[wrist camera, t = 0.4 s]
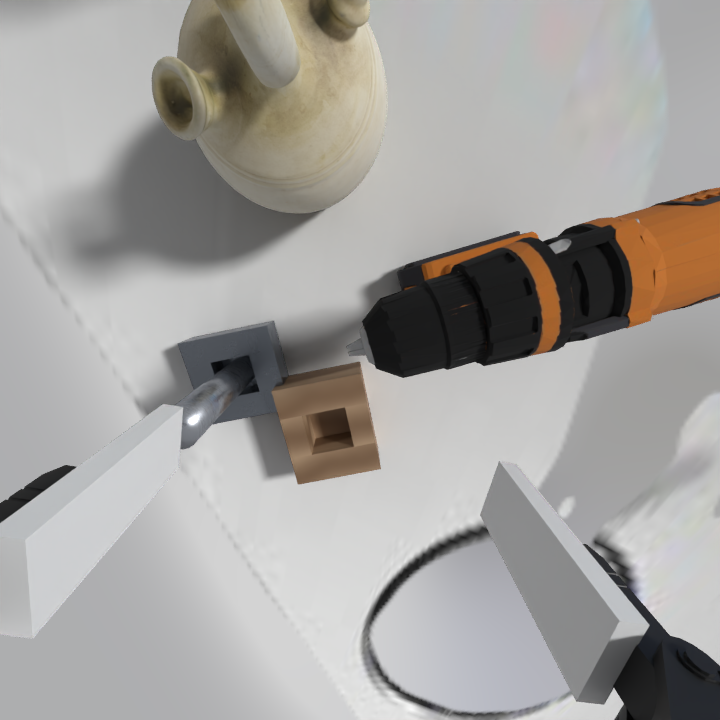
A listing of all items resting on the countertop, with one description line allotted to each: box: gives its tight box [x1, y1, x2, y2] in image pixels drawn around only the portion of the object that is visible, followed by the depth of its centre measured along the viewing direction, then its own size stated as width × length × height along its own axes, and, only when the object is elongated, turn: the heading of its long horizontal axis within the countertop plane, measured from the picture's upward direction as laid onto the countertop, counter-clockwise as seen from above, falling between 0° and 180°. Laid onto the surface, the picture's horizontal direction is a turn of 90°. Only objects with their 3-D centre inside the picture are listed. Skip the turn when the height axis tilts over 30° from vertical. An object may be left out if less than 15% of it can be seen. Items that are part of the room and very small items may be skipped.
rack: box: [271, 362, 381, 484], centre depth 41 cm, size 12×10×5 cm
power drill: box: [347, 188, 720, 378], centre depth 27 cm, size 22×7×25 cm, turn 106°
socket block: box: [178, 321, 289, 424], centre depth 40 cm, size 10×10×4 cm
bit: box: [174, 357, 255, 449], centre depth 33 cm, size 3×3×16 cm
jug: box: [152, 0, 387, 214], centre depth 23 cm, size 15×16×25 cm
